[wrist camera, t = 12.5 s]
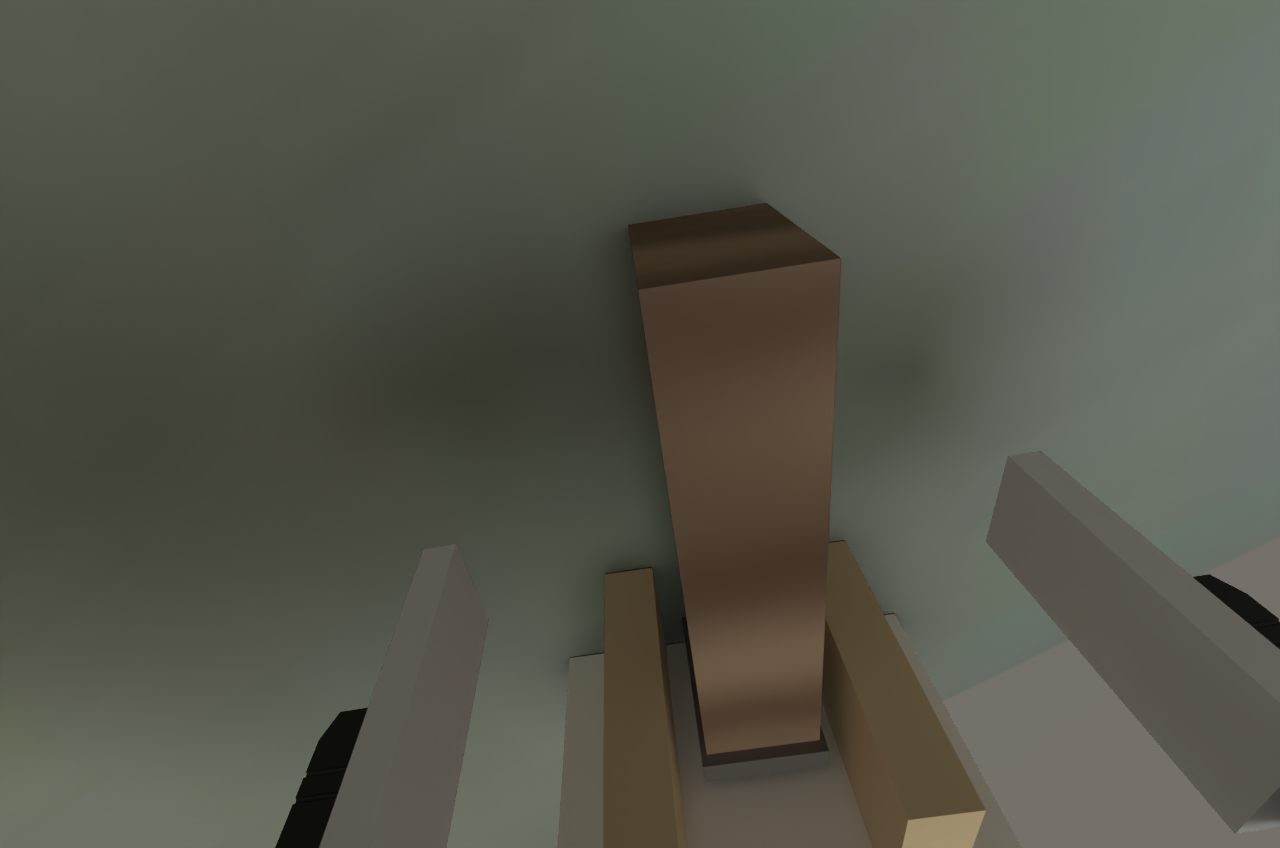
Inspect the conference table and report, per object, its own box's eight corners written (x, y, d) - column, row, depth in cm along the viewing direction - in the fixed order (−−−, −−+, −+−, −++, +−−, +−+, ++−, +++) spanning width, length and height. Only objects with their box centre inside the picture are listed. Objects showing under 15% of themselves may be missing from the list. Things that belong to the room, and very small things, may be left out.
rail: (621, 226, 16) (628, 297, 11) (773, 202, 16) (859, 262, 11) (684, 632, 26) (705, 782, 20) (780, 619, 25) (828, 766, 20)
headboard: (545, 582, 23) (426, 1542, 8) (906, 532, 23) (1517, 1444, 8) (576, 677, 27) (534, 1481, 11) (891, 635, 26) (1293, 1412, 11)
